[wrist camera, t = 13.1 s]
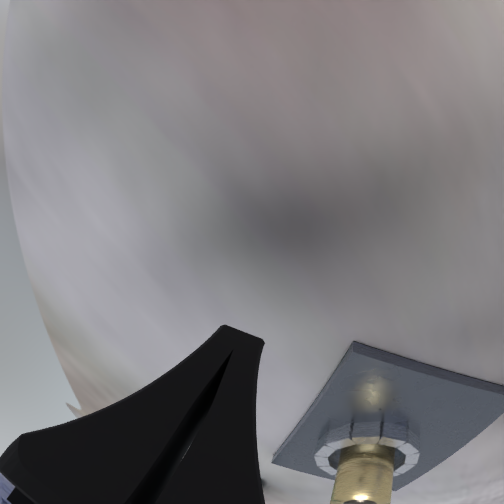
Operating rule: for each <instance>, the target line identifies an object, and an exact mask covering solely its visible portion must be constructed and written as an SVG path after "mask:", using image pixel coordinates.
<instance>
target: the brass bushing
mask: <svg viewBox="0 0 504 504" xmlns="http://www.w3.org/2000/svg"><path fill="white" fill-rule="evenodd" d="M394 459H395V447H390V446H386V445H381V444H355V445H351V446H348V447H344V448H341V452H340V458H339V463H338V468H337V473H336V478H335V483H334V488H333V492H332V497H331V501H330V504H390V501H391V492H392V483H393V472H394Z"/></svg>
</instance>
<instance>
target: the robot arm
mask: <svg viewBox="0 0 504 504" xmlns="http://www.w3.org/2000/svg"><path fill="white" fill-rule="evenodd" d="M264 344H265V343H264V341H263V339H261V338H258V337H256V336H253V335H250V334H248V333H245V332H243V331H240V330H237V329H235V328H232V327H230V326H227V325H222V326H220V327H219V328H218V330H217V331H216V332H215V333H214V334H213V335H212V336H211V337H210V338H209V339H208V340H207V341H205V342H204V343H203V344H202V345H201V346H200V347H199V348H198V349H196V350H195V351H194V352H193V353H192V354H190V355H189V356H188V357H187V358H185V359H184V360H183V361H182V362H180V363H179V364H178V365H176V366H175V367H174V368H172V369H171V370H169V371H168V372H167V373H165V374H164V375H162V376H161V377H159V378H158V379H156V380H155V381H153V382H152V383H150V384H149V385H147V386H145V387H144V388H142V389H140V390H139V391H137V392H135V393H133V394H132V395H130V396H128V397H126V398H124V399H122V400H120V401H118V402H116V403H114V404H112V405H110V406H108V407H106V408H103V409H101V410H99V411H96V412H94V413H92V414H89V415H86V416H84V417H81V418H78V419H75V420H72V421H70V422H67V423H64V424H60V425H57V426H53V427H49V428H45V429H42V430H37V431H33V432H28V433H25V434H21V435H20V436H19V437H18V438H17V439H16V440H15V441H14V442H13V443H12V444H11V445H10V446H9V447H8V448H7V449H6V451H5V452H4V453H3V454H2V456H1V457H0V504H265V501H264V495H263V489H262V484H261V478H260V470H259V462H258V451H257V437H256V393H257V378H258V370H259V363H260V358H261V353H262V349H263V346H264ZM189 446H190V447H189ZM188 448H189V449H188ZM186 451H187V452H186ZM185 453H186V454H185ZM184 455H185V456H184ZM181 460H182V461H181Z"/></svg>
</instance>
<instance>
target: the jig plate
mask: <svg viewBox="0 0 504 504" xmlns="http://www.w3.org/2000/svg"><path fill="white" fill-rule="evenodd" d="M503 413H504V386H501V385H497V384H494V383H490V382H486V381H482V380H479V379H475V378H471V377H468V376H464V375H461V374H457V373H454V372H450V371H447V370H443V369H440V368H437V367H433V366H430V365H427V364H423V363H420V362H417V361H413V360H410V359H407V358H404V357H401V356H397V355H394V354H391V353H388V352H385V351H382V350H379V349H375V348H372V347H369V346H366V345H363V344H360V343H357V342H354V341H353V343H352V345H351V346H350V348H349V350H348V351H347V353H346V354H345V356H344V358H343V359H342V361H341V362H340V364H339V365H338V367H337V369H336V370H335V372H334V373H333V375H332V376H331V378H330V379H329V381H328V382H327V384H326V385H325V387H324V388H323V390H322V391H321V393H320V394H319V395H318V397H317V398H316V400H315V401H314V403H313V404H312V406H311V407H310V408H309V410H308V411H307V413H306V414H305V415H304V417H303V418H302V419H301V421H300V422H299V423H298V425H297V426H296V428H295V429H294V430H293V432H292V433H291V434H290V435H289V437H288V438H287V439H286V441H285V442H284V443H283V445H282V446H281V447H280V448H279V450H278V451H277V452H276V453H275V455H274V456H273V459H272V462H271V463H273V464H276V465H280V466H283V467H286V468H290V469H293V470H297V471H300V472H304V473H308V474H312V475H316V476H320V477H324V478H328V479H332V480H335V478H336V473H337V468H338V463H339V458H340V452H341V448H344V447H348V446H351V445H355V444H381V445H386V446H390V447H395V459H394V472H393V483H392V490H393V491H397V490H398V489H400V488H402V487H404V486H405V485H407V484H409V483H410V482H412V481H414V480H415V479H417V478H418V477H420V476H422V475H423V474H425V473H426V472H428V471H429V470H431V469H432V468H434V467H435V466H437V465H438V464H440V463H441V462H443V461H444V460H446V459H447V458H448V457H450V456H451V455H453V454H454V453H455V452H457V451H458V450H459V449H461V448H462V447H463V446H465V445H466V444H467V443H468V442H470V441H471V440H472V439H473V438H475V437H476V436H477V435H478V434H480V433H481V432H482V431H483V430H484V429H486V428H487V427H488V426H489V425H490V424H491V423H493V422H494V421H495V420H496V419H497V418H498V417H499V416H500V415H501V414H503Z"/></svg>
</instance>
